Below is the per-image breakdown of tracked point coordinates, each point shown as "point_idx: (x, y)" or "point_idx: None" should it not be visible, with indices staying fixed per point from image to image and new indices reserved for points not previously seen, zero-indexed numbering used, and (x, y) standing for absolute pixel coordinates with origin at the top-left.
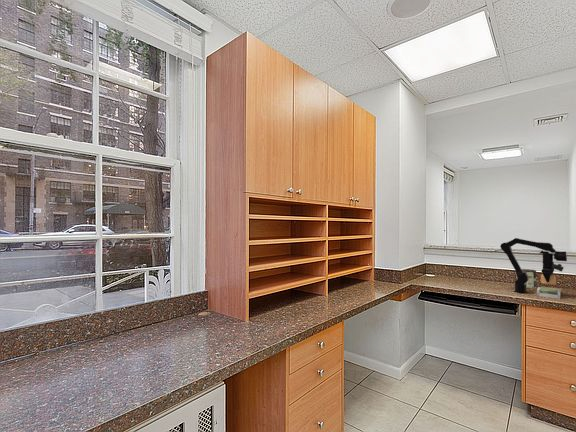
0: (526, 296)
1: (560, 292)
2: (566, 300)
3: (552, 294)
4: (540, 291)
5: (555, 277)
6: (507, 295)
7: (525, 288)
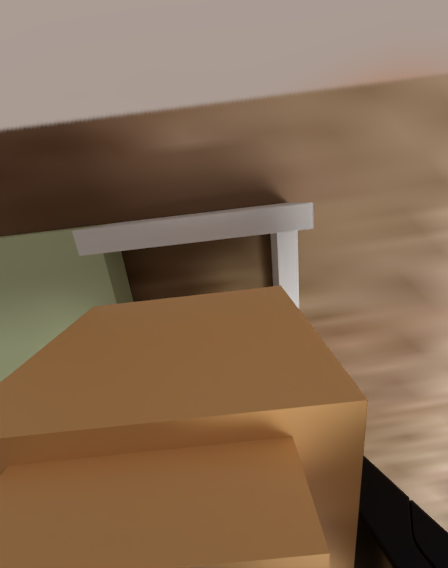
0: (383, 409)
1: (43, 232)
2: (348, 136)
3: (127, 288)
4: None
5: (282, 409)
6: (430, 486)
7: None
